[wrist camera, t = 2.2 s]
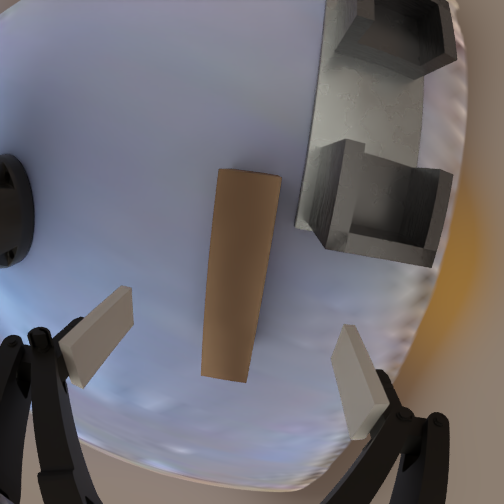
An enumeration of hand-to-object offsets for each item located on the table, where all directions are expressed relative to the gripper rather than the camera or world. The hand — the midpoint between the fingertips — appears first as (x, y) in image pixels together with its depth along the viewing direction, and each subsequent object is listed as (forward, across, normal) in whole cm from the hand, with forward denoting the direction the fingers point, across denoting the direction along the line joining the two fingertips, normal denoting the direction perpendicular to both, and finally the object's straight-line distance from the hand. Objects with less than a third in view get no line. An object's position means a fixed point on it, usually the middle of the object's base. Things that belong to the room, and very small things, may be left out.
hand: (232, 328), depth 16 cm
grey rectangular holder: (+10, +8, +16) cm, 21 cm away
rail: (+10, 0, 0) cm, 10 cm away
